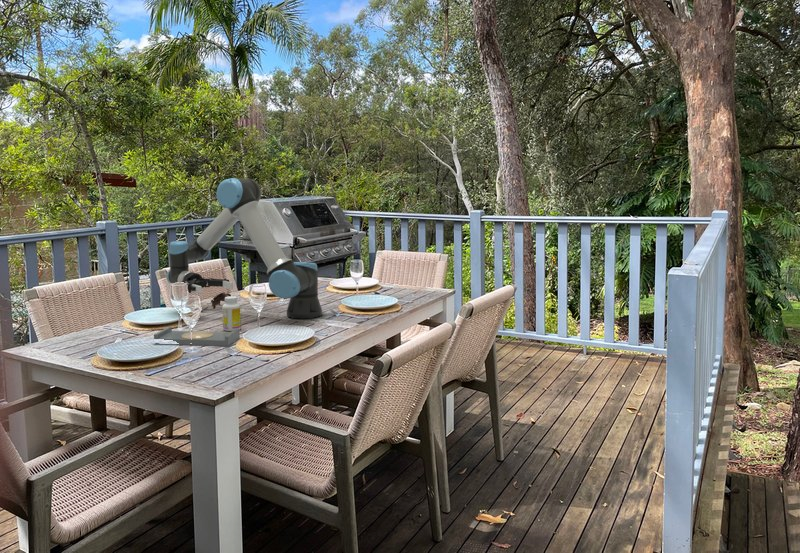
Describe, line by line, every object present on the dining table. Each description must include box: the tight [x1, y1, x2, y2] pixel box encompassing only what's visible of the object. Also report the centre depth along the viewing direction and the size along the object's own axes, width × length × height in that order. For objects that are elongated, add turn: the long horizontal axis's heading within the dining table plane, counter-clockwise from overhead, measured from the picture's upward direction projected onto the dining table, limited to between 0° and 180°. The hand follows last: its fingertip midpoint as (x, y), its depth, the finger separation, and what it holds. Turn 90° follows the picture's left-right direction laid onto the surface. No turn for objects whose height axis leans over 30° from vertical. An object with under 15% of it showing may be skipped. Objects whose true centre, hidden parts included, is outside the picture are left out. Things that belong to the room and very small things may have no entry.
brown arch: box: [210, 291, 232, 309], centre depth 290 cm, size 12×10×8 cm
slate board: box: [153, 326, 241, 347], centre depth 233 cm, size 27×12×4 cm, turn 85°
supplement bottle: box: [221, 295, 242, 332], centre depth 249 cm, size 7×7×13 cm
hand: (216, 288), depth 255 cm, fingers open, 13 cm apart
